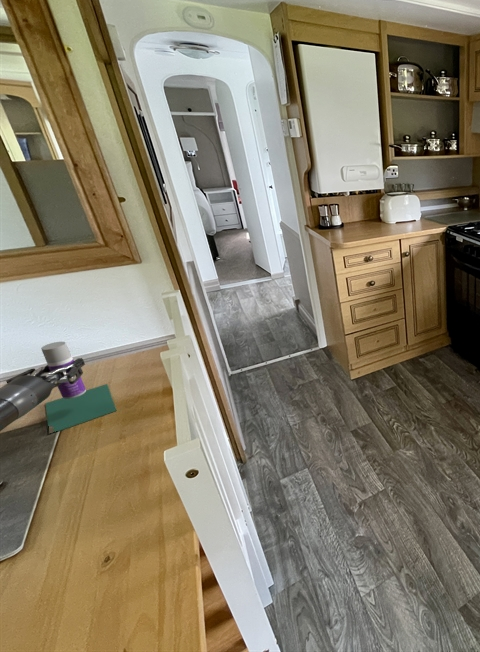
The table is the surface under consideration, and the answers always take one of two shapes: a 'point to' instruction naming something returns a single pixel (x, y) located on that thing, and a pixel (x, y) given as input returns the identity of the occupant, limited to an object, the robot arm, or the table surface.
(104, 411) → the napkin
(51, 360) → the container
